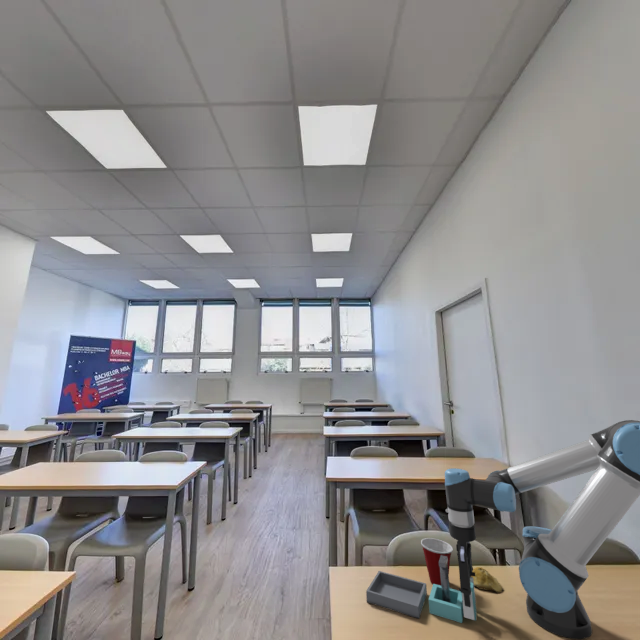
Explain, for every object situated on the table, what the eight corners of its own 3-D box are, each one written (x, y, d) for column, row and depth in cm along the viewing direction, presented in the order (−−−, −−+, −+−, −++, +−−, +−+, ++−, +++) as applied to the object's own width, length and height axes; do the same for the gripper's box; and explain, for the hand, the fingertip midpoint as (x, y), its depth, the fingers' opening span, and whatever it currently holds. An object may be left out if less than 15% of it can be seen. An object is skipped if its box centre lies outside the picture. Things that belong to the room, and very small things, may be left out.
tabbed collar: (477, 608, 94) (473, 577, 96) (475, 627, 87) (472, 594, 89) (434, 596, 100) (432, 567, 102) (429, 613, 93) (427, 582, 94)
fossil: (499, 562, 109) (491, 575, 102) (506, 583, 107) (499, 597, 99) (468, 560, 115) (459, 572, 108) (475, 580, 113) (465, 593, 106)
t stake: (456, 606, 95) (452, 557, 98) (455, 616, 91) (450, 565, 94) (439, 601, 98) (435, 553, 101) (437, 611, 93) (433, 561, 96)
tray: (426, 594, 101) (426, 583, 102) (419, 618, 90) (418, 606, 91) (379, 580, 109) (378, 570, 109) (366, 602, 98) (366, 590, 98)
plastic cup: (461, 593, 102) (457, 551, 105) (428, 592, 102) (425, 551, 105) (449, 574, 112) (446, 536, 115) (419, 573, 113) (417, 536, 116)
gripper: (452, 510, 108) (459, 587, 102) (444, 533, 90) (452, 627, 85) (475, 514, 104) (484, 593, 99) (472, 538, 87) (483, 637, 81)
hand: (470, 609), depth 92 cm, fingers open, 8 cm apart
